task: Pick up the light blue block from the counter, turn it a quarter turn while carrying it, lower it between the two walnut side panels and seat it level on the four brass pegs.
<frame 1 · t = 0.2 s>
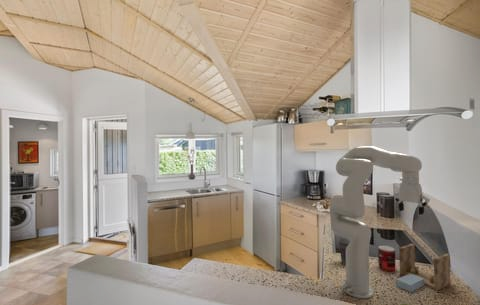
hand: (411, 212, 132), 31 cm above the countertop, fingers open, 9 cm apart
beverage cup: (346, 263, 139), on the countertop
peg shelf: (424, 279, 120), on the countertop
light blue block: (410, 286, 115), on the countertop
canned food: (386, 268, 133), on the countertop
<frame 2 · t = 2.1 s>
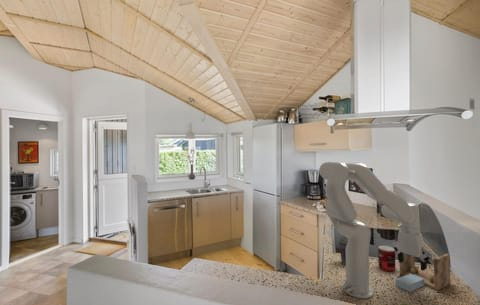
hand: (411, 265, 115), 9 cm above the countertop, fingers open, 9 cm apart
nothing on the countertop moved.
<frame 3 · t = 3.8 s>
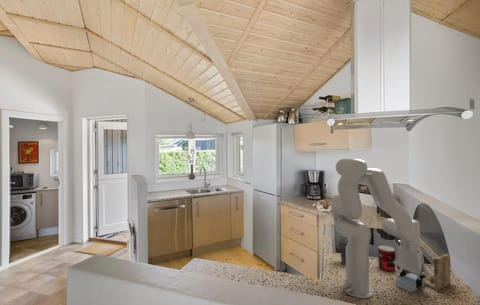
hand: (411, 283, 115), 1 cm above the countertop, fingers closed on light blue block, 6 cm apart
light blue block: (410, 285, 115), on the countertop, touching gripper
everything else where it was.
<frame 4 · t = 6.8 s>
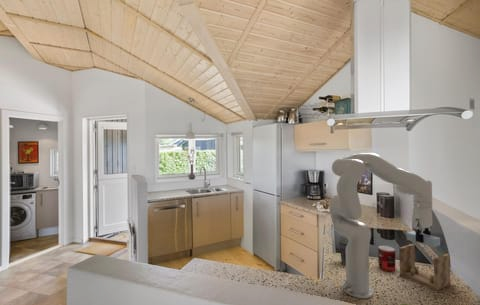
hand: (423, 240, 121), 19 cm above the countertop, fingers closed on light blue block, 6 cm apart
light blue block: (422, 242, 121), point 18 cm above the countertop, touching gripper
everything else where it was.
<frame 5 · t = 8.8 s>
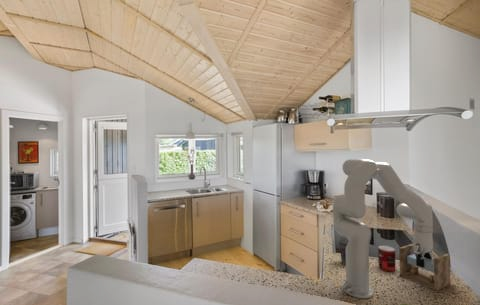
hand: (423, 264, 121), 7 cm above the countertop, fingers closed on light blue block, 6 cm apart
light blue block: (423, 266, 121), point 6 cm above the countertop, touching gripper
everything else where it was.
when the fingers open (6 cm above the countertop, at t = 10.1 s): light blue block stays where it is, resting on peg shelf.
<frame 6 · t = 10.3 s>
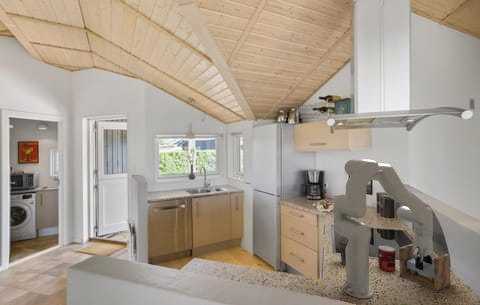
hand: (423, 267, 121), 6 cm above the countertop, fingers open, 7 cm apart
light blue block: (423, 271, 121), point 4 cm above the countertop, touching peg shelf
everything else where it was.
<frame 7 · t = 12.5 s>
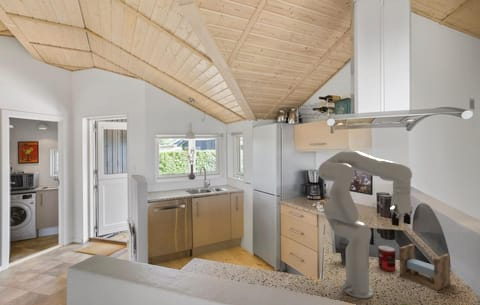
hand: (401, 224, 124), 26 cm above the countertop, fingers open, 9 cm apart
nothing on the countertop moved.
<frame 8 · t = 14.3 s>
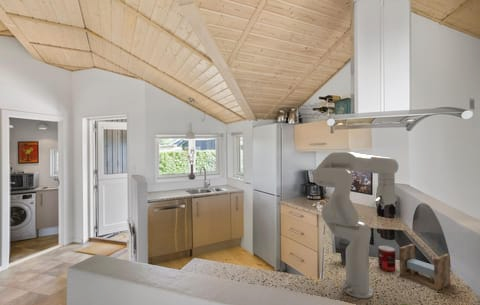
hand: (386, 215, 127), 30 cm above the countertop, fingers open, 9 cm apart
nothing on the countertop moved.
at the end: light blue block 0.3 cm off-centre on the peg shelf, point 4.0 cm above the peg shelf's base; light blue block tilted 0°; the gripper is holding nothing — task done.
